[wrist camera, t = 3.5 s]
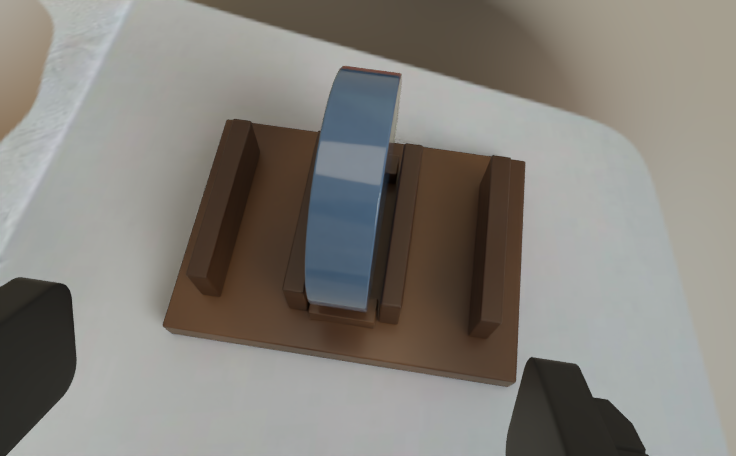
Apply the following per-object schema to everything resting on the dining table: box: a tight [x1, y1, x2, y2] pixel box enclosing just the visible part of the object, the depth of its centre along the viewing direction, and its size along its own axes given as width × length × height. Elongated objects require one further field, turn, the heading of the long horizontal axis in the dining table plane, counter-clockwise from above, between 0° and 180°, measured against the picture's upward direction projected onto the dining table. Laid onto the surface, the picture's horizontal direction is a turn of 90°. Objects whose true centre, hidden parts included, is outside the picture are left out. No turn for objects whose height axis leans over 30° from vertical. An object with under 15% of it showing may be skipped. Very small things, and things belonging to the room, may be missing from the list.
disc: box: [305, 66, 402, 313], centre depth 20 cm, size 2×8×8 cm, turn 171°
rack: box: [163, 119, 525, 387], centre depth 23 cm, size 14×10×4 cm
